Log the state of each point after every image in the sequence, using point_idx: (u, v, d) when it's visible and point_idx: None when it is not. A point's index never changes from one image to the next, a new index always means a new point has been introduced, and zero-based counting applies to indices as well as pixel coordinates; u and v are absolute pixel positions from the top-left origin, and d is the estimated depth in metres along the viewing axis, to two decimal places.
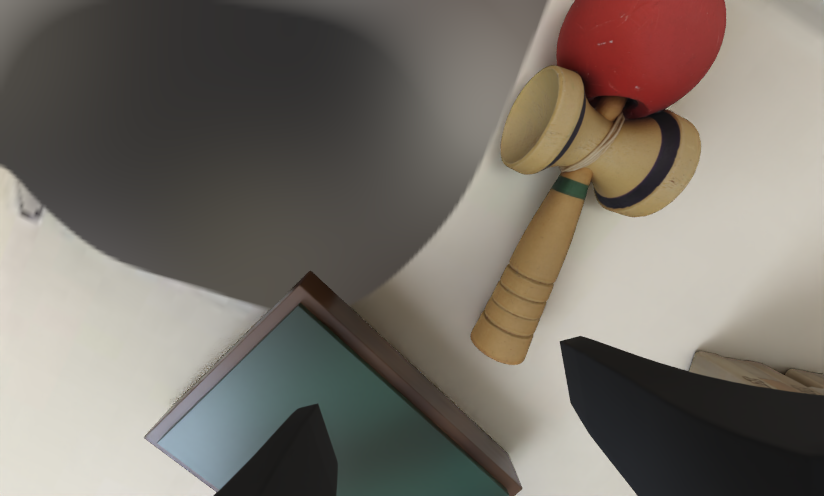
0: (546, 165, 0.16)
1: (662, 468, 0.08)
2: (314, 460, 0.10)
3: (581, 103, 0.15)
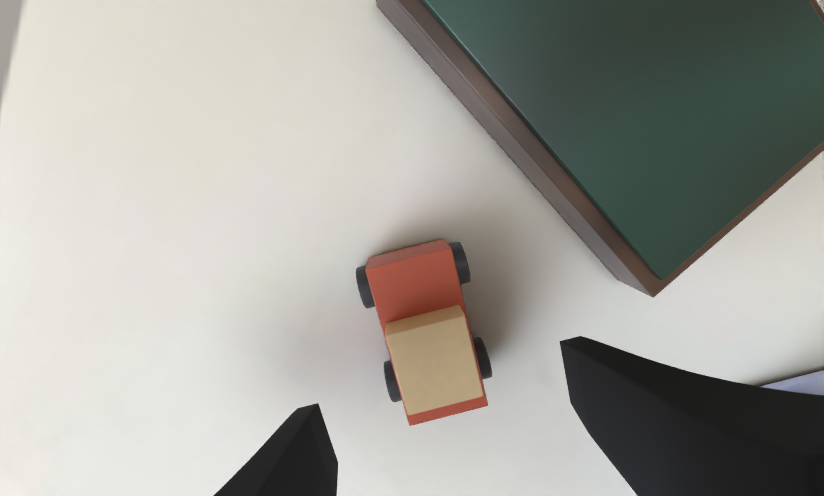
0: None
1: (662, 467, 0.08)
2: (314, 459, 0.10)
3: None
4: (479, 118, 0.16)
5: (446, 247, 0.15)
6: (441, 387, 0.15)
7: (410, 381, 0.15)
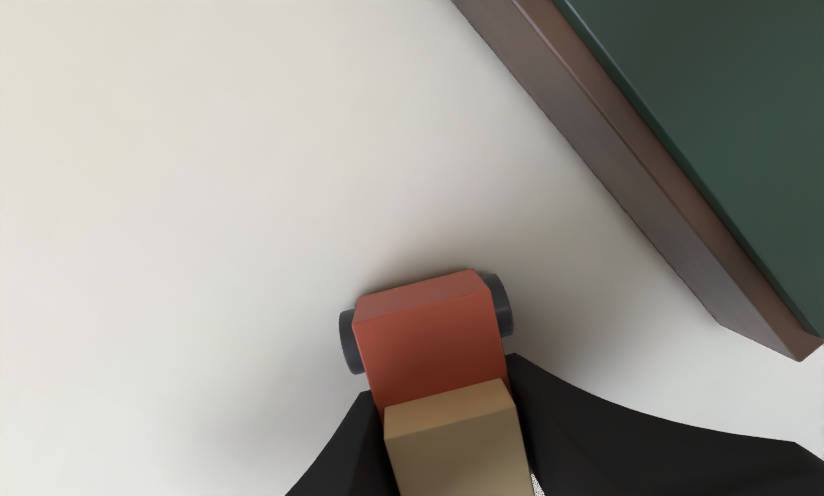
0: None
1: (567, 492, 0.08)
2: None
3: None
4: (530, 84, 0.10)
5: (481, 288, 0.10)
6: None
7: None
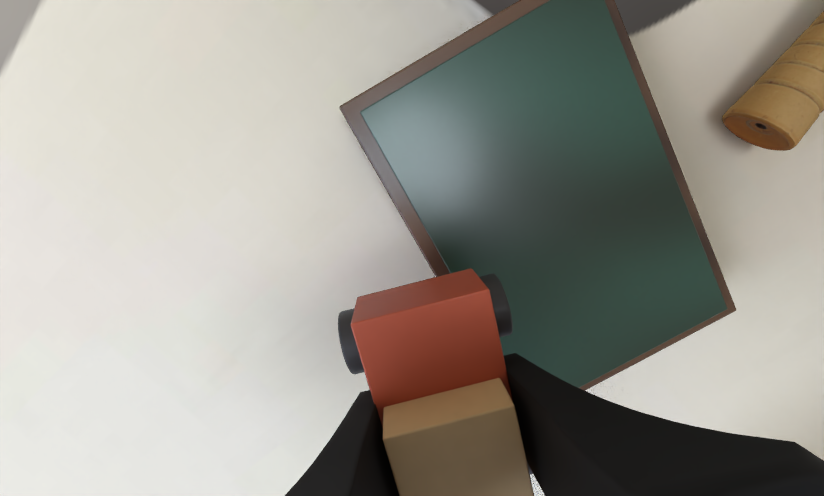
0: None
1: (566, 493, 0.08)
2: None
3: None
4: None
5: (480, 288, 0.10)
6: None
7: None
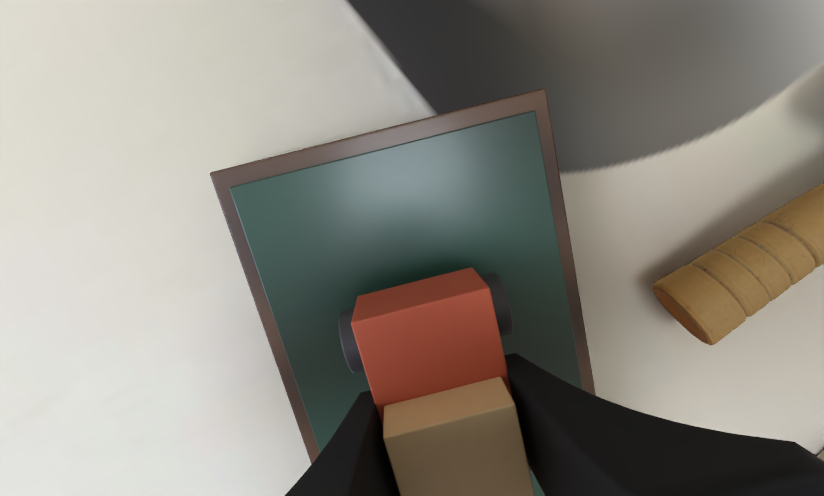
0: None
1: (566, 493, 0.08)
2: None
3: None
4: None
5: (481, 286, 0.09)
6: None
7: None
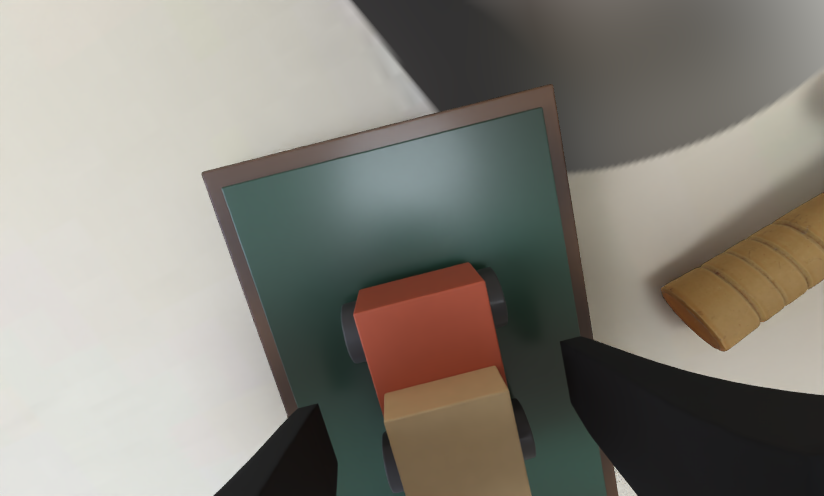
0: None
1: (662, 468, 0.08)
2: (314, 460, 0.10)
3: None
4: None
5: (477, 279, 0.10)
6: (470, 495, 0.10)
7: (422, 488, 0.10)
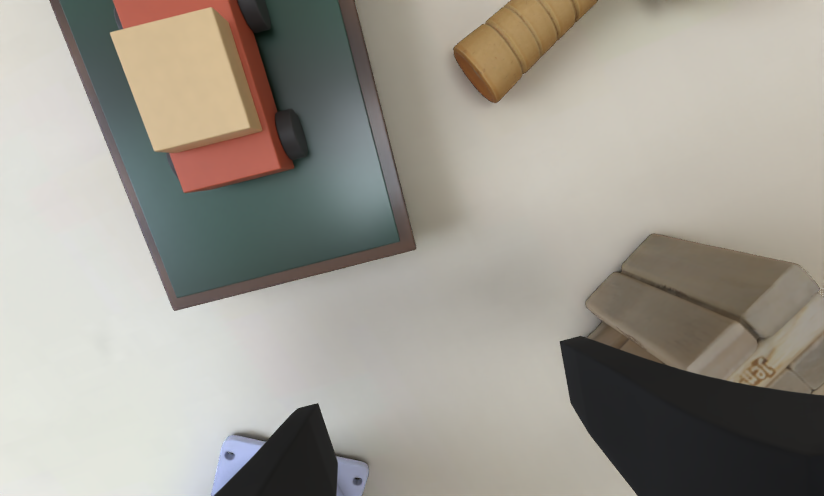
0: None
1: (662, 467, 0.08)
2: (314, 459, 0.10)
3: None
4: None
5: None
6: (193, 110, 0.12)
7: (150, 101, 0.12)
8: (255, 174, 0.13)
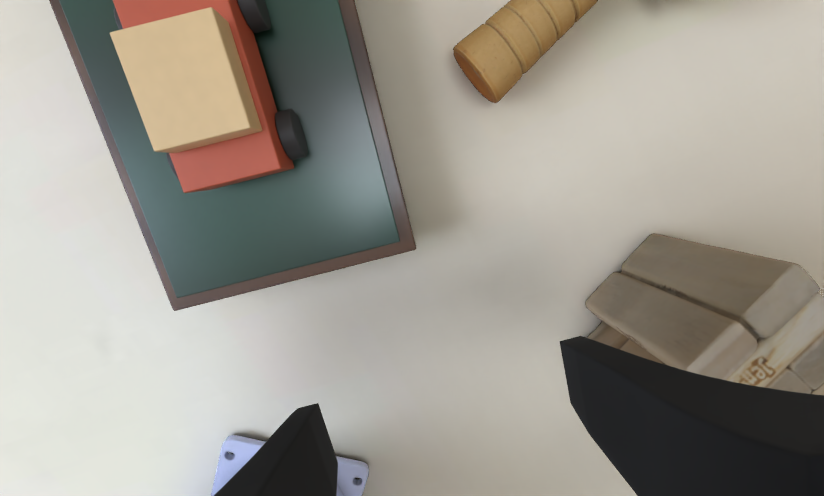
0: None
1: (662, 467, 0.08)
2: (314, 459, 0.10)
3: None
4: None
5: None
6: (193, 110, 0.12)
7: (150, 101, 0.12)
8: (255, 174, 0.13)
